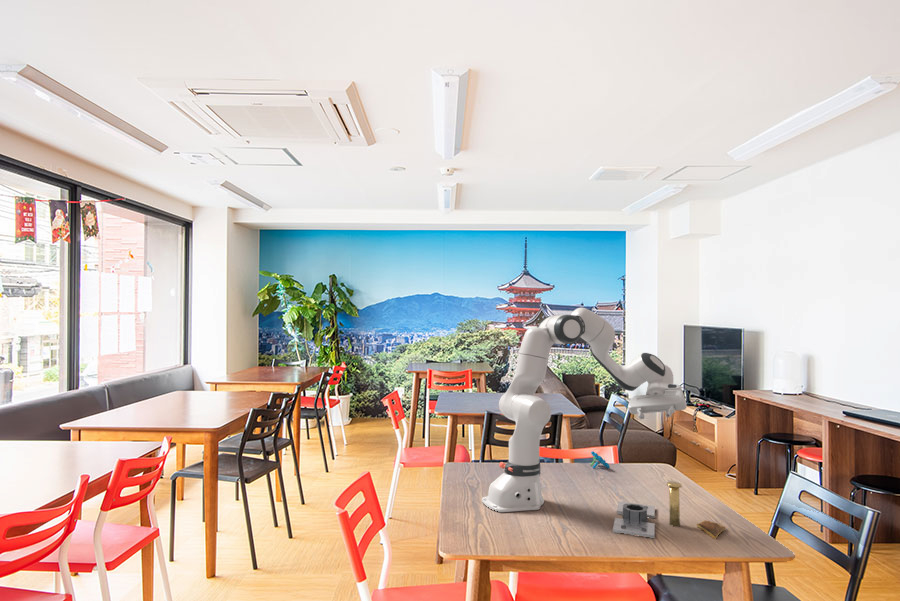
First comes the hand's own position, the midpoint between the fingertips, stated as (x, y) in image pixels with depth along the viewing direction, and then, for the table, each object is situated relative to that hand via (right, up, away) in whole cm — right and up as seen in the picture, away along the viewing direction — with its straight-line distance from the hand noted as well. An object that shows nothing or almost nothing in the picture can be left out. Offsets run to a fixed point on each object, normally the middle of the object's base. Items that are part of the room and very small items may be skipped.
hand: (654, 416), depth 181 cm
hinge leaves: (-13, -31, -15) cm, 36 cm away
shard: (+10, -31, -24) cm, 40 cm away
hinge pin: (-1, -31, -19) cm, 36 cm away
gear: (-6, -34, +47) cm, 58 cm away
